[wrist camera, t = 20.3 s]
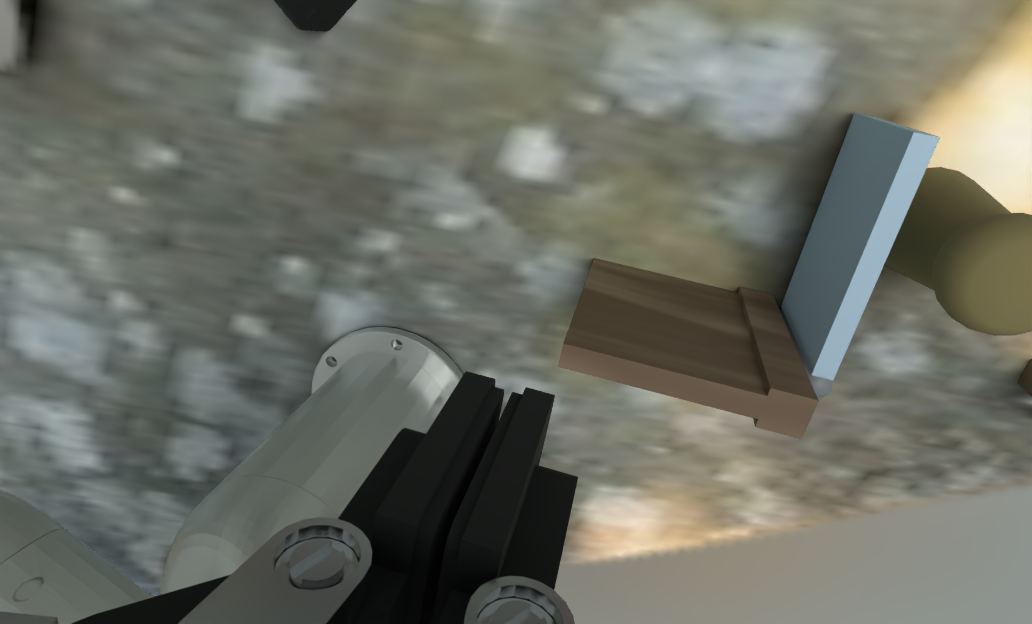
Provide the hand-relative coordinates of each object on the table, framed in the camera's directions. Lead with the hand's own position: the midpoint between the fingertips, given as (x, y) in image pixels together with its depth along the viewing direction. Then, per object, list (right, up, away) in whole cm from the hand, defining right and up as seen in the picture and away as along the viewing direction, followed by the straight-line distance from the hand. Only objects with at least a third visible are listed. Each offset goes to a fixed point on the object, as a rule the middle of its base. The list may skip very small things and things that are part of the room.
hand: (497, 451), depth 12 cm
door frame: (+18, +2, +27) cm, 33 cm away
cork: (+23, +8, +24) cm, 34 cm away
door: (+18, +7, +25) cm, 31 cm away
